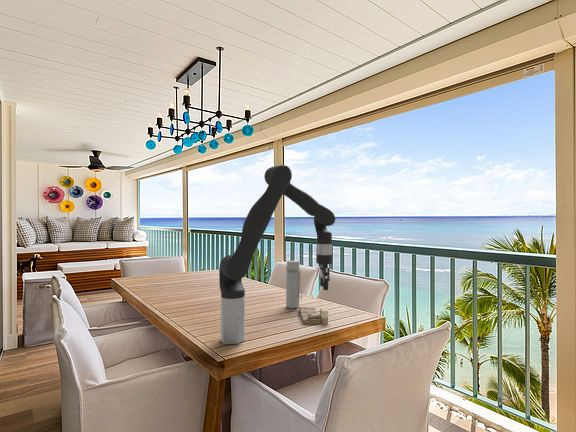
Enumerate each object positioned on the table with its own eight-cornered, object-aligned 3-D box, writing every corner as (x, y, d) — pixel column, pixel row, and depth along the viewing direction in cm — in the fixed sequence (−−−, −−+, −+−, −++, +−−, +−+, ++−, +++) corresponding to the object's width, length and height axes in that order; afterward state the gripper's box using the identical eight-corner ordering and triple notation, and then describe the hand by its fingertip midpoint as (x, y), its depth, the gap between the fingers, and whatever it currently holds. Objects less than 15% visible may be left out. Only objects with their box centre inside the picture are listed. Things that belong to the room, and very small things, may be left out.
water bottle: (283, 307, 176) (283, 261, 177) (290, 304, 183) (290, 260, 184) (298, 310, 172) (298, 262, 172) (304, 306, 179) (305, 261, 179)
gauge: (328, 323, 150) (328, 310, 150) (308, 323, 149) (308, 310, 149) (326, 320, 155) (326, 307, 155) (307, 320, 154) (307, 307, 154)
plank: (320, 324, 149) (320, 319, 149) (303, 324, 149) (303, 319, 149) (314, 310, 171) (314, 306, 171) (298, 310, 171) (299, 306, 171)
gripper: (335, 255, 146) (335, 291, 146) (329, 252, 160) (329, 285, 160) (318, 255, 145) (318, 291, 145) (314, 252, 160) (314, 285, 159)
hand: (324, 288), depth 153 cm, fingers open, 8 cm apart
